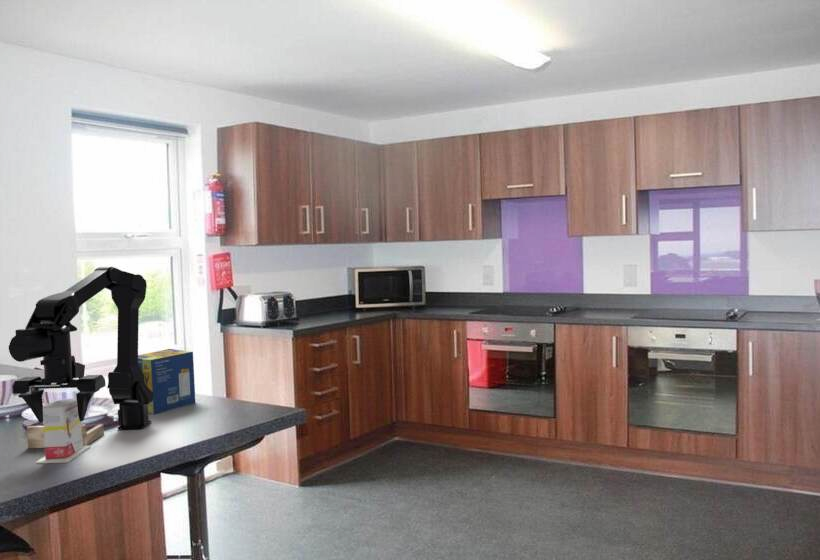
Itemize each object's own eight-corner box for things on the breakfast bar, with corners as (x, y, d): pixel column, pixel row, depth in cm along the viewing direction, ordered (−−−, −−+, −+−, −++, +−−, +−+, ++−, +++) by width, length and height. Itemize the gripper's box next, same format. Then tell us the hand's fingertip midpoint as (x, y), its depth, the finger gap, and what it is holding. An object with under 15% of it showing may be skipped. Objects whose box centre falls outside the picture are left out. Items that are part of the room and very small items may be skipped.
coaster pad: (90, 447, 166) (90, 445, 166) (67, 462, 155) (67, 460, 155) (61, 448, 166) (61, 446, 166) (36, 463, 155) (35, 461, 155)
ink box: (66, 458, 156) (63, 406, 156) (44, 459, 156) (40, 407, 156) (84, 447, 165) (80, 397, 164) (63, 447, 165) (59, 398, 164)
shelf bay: (103, 434, 177) (102, 414, 177) (85, 446, 167) (83, 425, 166) (50, 435, 177) (48, 416, 177) (28, 448, 167) (26, 427, 167)
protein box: (129, 410, 201) (125, 357, 199) (172, 399, 214) (170, 348, 213) (153, 414, 195) (150, 359, 194) (196, 402, 208) (193, 350, 207)
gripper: (113, 346, 167) (117, 411, 168) (35, 349, 167) (39, 413, 168) (92, 354, 156) (96, 424, 157) (8, 357, 156) (13, 426, 157)
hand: (61, 421), depth 160 cm, fingers open, 9 cm apart
